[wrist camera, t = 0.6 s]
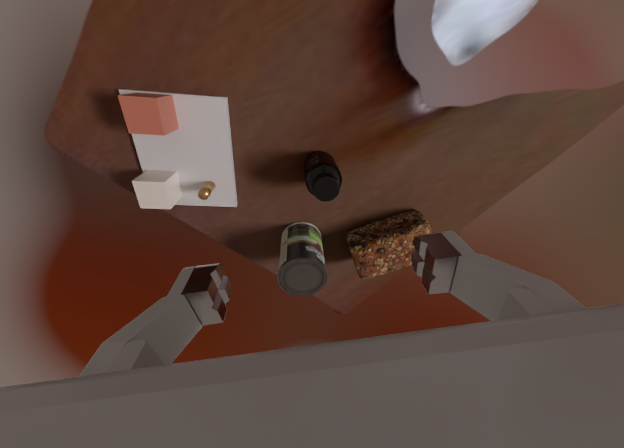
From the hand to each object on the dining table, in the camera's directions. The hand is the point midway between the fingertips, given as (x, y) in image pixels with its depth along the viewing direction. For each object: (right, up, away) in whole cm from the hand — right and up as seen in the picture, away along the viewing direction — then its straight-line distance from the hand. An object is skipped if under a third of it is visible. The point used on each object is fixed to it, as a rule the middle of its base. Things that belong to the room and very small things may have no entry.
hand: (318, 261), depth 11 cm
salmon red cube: (-28, +22, +34) cm, 49 cm away
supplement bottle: (+1, +14, +42) cm, 45 cm away
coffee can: (-3, -2, +52) cm, 52 cm away
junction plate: (-25, +16, +39) cm, 49 cm away
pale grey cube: (-31, +10, +41) cm, 52 cm away
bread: (+18, -1, +53) cm, 56 cm away
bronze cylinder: (-22, +10, +42) cm, 48 cm away
